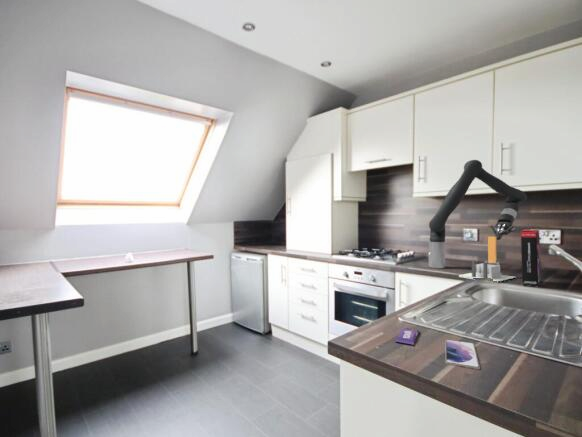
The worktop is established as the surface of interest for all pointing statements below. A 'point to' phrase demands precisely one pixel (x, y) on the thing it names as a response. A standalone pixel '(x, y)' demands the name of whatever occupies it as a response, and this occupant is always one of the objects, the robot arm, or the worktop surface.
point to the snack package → (407, 336)
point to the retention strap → (492, 250)
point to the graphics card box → (530, 257)
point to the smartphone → (461, 354)
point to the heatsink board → (486, 272)
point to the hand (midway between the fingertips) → (497, 239)
